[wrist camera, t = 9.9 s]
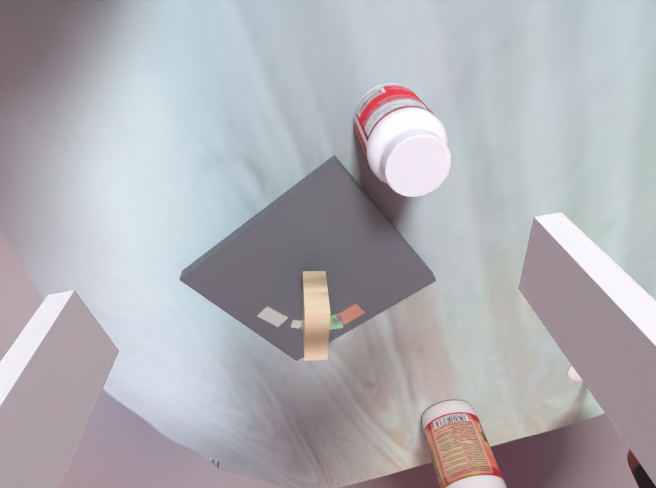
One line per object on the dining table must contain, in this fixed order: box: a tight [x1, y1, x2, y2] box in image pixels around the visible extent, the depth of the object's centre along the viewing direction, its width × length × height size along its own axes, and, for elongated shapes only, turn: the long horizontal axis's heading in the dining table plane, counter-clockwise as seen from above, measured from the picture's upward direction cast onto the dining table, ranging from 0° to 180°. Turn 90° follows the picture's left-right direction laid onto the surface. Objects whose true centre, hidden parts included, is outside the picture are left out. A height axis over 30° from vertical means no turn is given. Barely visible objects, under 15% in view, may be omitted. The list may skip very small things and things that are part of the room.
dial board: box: [180, 155, 436, 361], centre depth 46 cm, size 20×22×2 cm
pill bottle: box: [354, 83, 451, 197], centre depth 31 cm, size 6×6×11 cm
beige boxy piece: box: [300, 271, 331, 361], centre depth 43 cm, size 12×3×8 cm, turn 178°
